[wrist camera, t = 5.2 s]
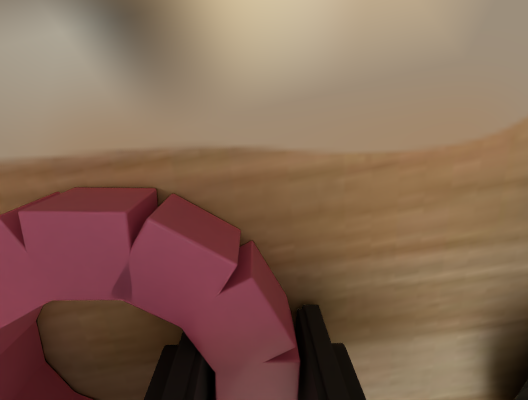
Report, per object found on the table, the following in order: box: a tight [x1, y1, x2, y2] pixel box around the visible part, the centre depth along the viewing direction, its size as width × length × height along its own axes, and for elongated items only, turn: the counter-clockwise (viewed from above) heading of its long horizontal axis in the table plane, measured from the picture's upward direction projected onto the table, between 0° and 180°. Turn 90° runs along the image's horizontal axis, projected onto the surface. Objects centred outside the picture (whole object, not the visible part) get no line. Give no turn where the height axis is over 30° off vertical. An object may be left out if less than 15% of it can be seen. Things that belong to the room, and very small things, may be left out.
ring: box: [0, 187, 300, 400], centre depth 10 cm, size 11×11×2 cm
